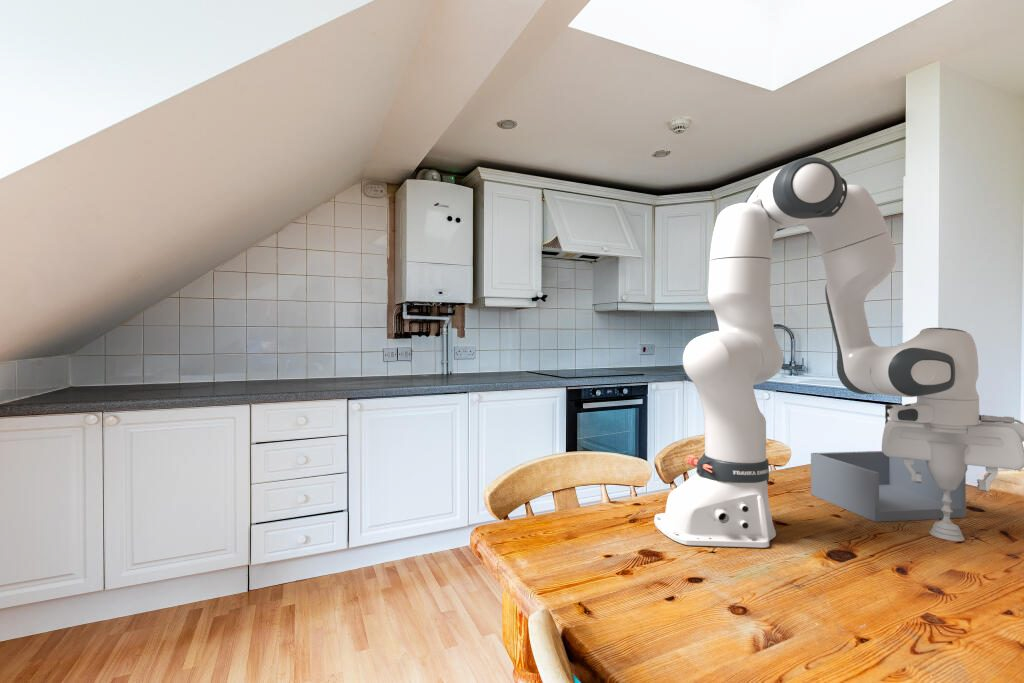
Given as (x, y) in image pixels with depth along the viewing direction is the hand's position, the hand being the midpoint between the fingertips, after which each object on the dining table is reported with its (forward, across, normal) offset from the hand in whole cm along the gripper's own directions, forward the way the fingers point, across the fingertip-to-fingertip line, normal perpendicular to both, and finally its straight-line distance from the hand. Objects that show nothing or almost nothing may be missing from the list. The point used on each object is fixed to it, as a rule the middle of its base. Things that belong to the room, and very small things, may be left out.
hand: (949, 486), depth 92 cm
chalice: (+10, 0, 0) cm, 10 cm away
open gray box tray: (+9, +10, -14) cm, 20 cm away
